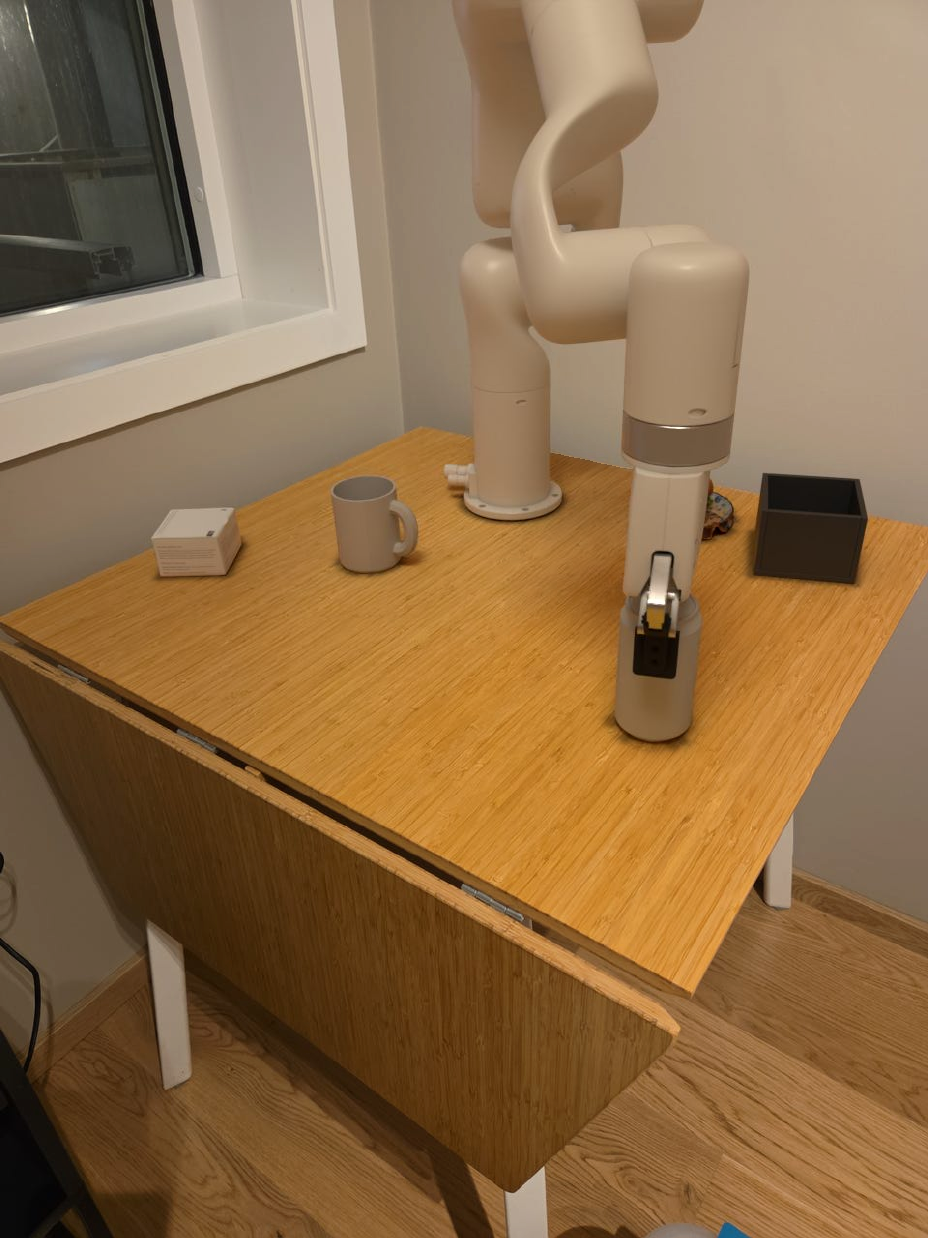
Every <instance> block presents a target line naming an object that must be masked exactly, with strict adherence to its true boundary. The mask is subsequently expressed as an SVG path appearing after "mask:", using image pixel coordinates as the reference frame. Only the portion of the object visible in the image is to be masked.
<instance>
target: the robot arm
mask: <svg viewBox="0 0 928 1238" xmlns="http://www.w3.org/2000/svg"><path fill="white" fill-rule="evenodd" d="M704 2H705V0H451V9H452V15H453V19H454V23H455V27H456V31H457V34H458V38H459V41H460V45H461V47H462V50H463V54H464V57H465V61H466V64H467V68H468V69H467V70H468V73H469V79H470V87H471V191H472V202H473V205H474V206H473V207H474V210H475V213H476V215H477V217H478V219H479V220H480V221H481V222H482V223H483V224H484V225H487V226H489V227H491V228H497V229H510V236H502V237H501V236H500V237H495V238H490V239H486V240H483V241H479V242H477V243H476V244H474V245H472V246H471V247H469V248H468V249H467V250H466V251H465V252H464V254H463V255H462V257H461V259H460V262H459V265H458V287H459V293H460V299H461V304H462V310H463V315H464V319H465V325H466V332H467V340H468V341H467V342H468V353H469V367H470V384H471V385H470V389H471V390H470V391H471V413H472V415H471V416H472V436H473V437H472V439H473V460H474V461H473V462H469V463H467V464H468V465H460V464H457V463H445V464H444V467H443V478H444V479H447V484H448V486H464V487H465V489H464V492H463V503H464V506H465V507H466V508H467V509H468V510H469V511H470V512H472V513H473V514H476V515H478V516H479V517H484V518H487V519H492V520H500V521H520V520H521V521H522V520H529V519H535V518H539V517H541V516H544V515H547V514H550V513H551V512H553V511H555V510H556V509H557V508H558V507H559V506H560V505H561V503H562V500H563V491H562V488H561V486H560V485H559V484H558V483H556V481H553V480H552V479H551V364H550V360H549V357H548V354H547V353H546V351H545V349H544V348H543V347H542V345H541V344H540V343H539V342H538V341H537V340H536V339H535V338H534V337H533V336H532V335H531V333H530V331H529V329H530V328H531V327H532V326H533V329H534V330H535V331H536V333H537V334H538V335H539V336H540V337H541V338H542V339H544V340H546V341H547V342H550V343H552V344H556V345H576V344H578V345H579V344H589V343H598V342H599V343H600V342H607V341H617V340H625V353H624V354H625V357H624V377H623V401H622V421H621V422H622V423H621V425H622V426H621V444H620V445H621V446H620V447H621V448H620V456H621V458H622V459H623V461H624V462H626V463H627V464H629V465H631V466H632V467H633V472H632V479H631V487H630V495H629V496H630V497H629V507H628V519H627V530H626V533H627V534H626V546H625V559H624V560H625V561H624V570H623V571H624V573H623V583H622V593H623V594H624V596H625V598H626V597H628V598H630V597H631V596H634V597H638V596H639V594H640V592H641V591H642V592H641V601H640V609H639V618H638V626H636V627H635V637H634V654H633V673H634V674H635V675H639V676H648V677H656V678H665V679H674V678H675V677H676V671H677V660H678V649H679V638H680V631H677V621H678V612H679V603H680V602H683V601H685V600H686V599H688V598H689V595H690V593H691V590H692V586H693V582H694V578H695V573H696V570H697V569H696V568H697V564H698V559H699V555H700V549H701V544H702V540H703V539H702V533H703V527H704V520H705V513H706V505H707V497H708V487H709V478H710V479H711V471H714V470H717V469H718V468H721V467H723V466H724V465H725V464H727V463H728V462H729V460H730V457H731V447H732V439H733V438H732V437H733V431H734V422H735V421H734V420H735V411H736V404H737V395H738V387H739V385H738V384H739V378H740V377H739V376H740V367H741V359H742V358H741V357H742V350H743V341H744V333H745V323H746V314H747V305H748V296H749V286H750V266H749V261H748V258H747V257H746V256H745V253H743V252H742V251H741V250H740V249H739V248H736V247H734V246H732V245H729V244H724V243H719V242H718V243H717V242H716V240H715V239H714V238H713V236H712V235H711V234H710V233H709V232H708V231H707V230H706V229H703V228H702V227H699V226H697V225H694V224H687V223H671V224H658V225H648V226H647V225H646V226H627V227H625V226H624V227H620V224H621V223H620V222H621V216H622V215H621V214H622V205H623V204H622V203H623V193H624V165H623V164H624V163H623V157H622V153H621V151H622V150H624V149H625V148H626V147H628V146H629V145H631V144H632V143H634V141H636V140H637V139H638V138H639V137H640V136H641V135H642V134H643V133H644V132H645V130H646V129H647V127H648V126H649V125H650V123H651V122H652V120H653V118H654V116H655V114H656V111H657V109H658V104H659V98H660V97H659V95H660V94H659V84H658V80H657V76H656V73H655V69H654V65H653V62H652V58H651V54H650V51H649V47H648V44H664V43H665V44H666V43H674V42H677V41H679V40H682V39H683V38H684V37H686V36H687V35H688V34H690V32H691V31H692V30H693V28H694V26H696V23H697V22H698V19H699V18H700V15H701V12H702V9H703V6H704ZM566 225H567V226H568V225H571V229H570V231H562V229H561V228H560V226H566ZM701 539H702V540H701ZM648 586H650V588H649V590H648ZM668 586H672V587H676V588H675V593H673V592H668ZM666 603H672V605H671V614H670V615H669V613H666Z"/></svg>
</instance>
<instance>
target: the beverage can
mask: <svg viewBox="0 0 928 1238" xmlns="http://www.w3.org/2000/svg"><path fill="white" fill-rule="evenodd" d="M649 588H650V586H648V590H649ZM675 588H676V587H672V586H668V592H673V593H675ZM641 592H642V591H641ZM641 592H640V594H639V596H638V597H634V596H631V597H630V598H628V597H626V596H625V601H624V606H623V607H622V608H621V609H620V611H619V624H618V627H619V628H618V642H617V643H618V645H617V662H616V681H615V698H614V699H615V700H614V718H615V721H616V722H617V724H618V725H619V726H620V727H621V729H623V730H624V731H625V732H627V733H628V734H630V735H631V736H632V737H634V738H636V739H639V740H642V741H646V742H653V743H654V742H655V743H657V742H665V741H668V740H670V739H674V738H676V737H679V736H682V734H684V733H685V732H686V731H687V730H688V729H689V728H690V726H691V724H692V720H693V712H694V711H693V710H694V700H695V693H696V683H697V682H696V681H697V674H698V665H699V655H700V648H701V647H700V646H701V640H702V639H701V637H702V629H703V615H702V613H701V611H700V603H699V601H698V599H697V598H696V596H695V595H693V594H692V593H691V592H690V595H689V598H688V599H686V600H685V601H683V602H680V603H679V612H678V621H677V631H680V638H679V649H678V660H677V671H676V677H675V678H674V679H665V678H656V677H648V676H639V675H635V674H634V673H633V654H634V637H635V627H636V626H638V618H639V609H640V601H641ZM671 605H672V603H666V613H669V615H670V614H671Z"/></svg>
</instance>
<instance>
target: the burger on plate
mask: <svg viewBox="0 0 928 1238" xmlns="http://www.w3.org/2000/svg"><path fill="white" fill-rule="evenodd" d="M734 513H735V507H734V505H733V503H732V502H731V500H730V499H729V498H728V497H725V496H723V495H722V494H721V493H718V492H715V491H714V483H713V481H712V479H711V477H710V478H709V487H708V497H707V505H706V513H705V520H704V527H703V533H702V539H701V541H702V540H710V539H712V538H713V533H714V531H715V530H716V528H718V529H719V530H720V531H721V532H722V533H725V532H728V529H731V527H732V524H733V523H734V519H735V515H734Z"/></svg>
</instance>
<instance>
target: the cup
mask: <svg viewBox="0 0 928 1238" xmlns="http://www.w3.org/2000/svg"><path fill="white" fill-rule="evenodd" d="M330 497H331V505H332V512H333V520H334V521H333V522H334V528H335V534H336V542H337V551H338V556H339V562H340V564H341V565H342V566H343V567H344V568H345V570H348V571H349V572H353V573H358V574H376V573H382V572H384V571H385V572H386V571H388V570H390V569H393V567H395V566H396V565H397V564H398V563H399V562H400V560H401V559H402V557H405V556H410V555H411V554H412V553H414V551H415V550H416V548H417V545H418V540H419V525H418V522H417V517H416V515H415V513H414V511H413V510H412V508H411V507H410V506H409V505H408V504H407V503H405V502H403V501H401V500H398V492H397V484H396V482H395V481H394V480H393V479H391V478H389V477H387V476H381V475H374V474H367V475H365V474H364V475H356V476H351V477H347V478H344V479H342V480H340V481H338V482H336V483H334V485H332V486H331V488H330ZM400 521H401V524H402V529H403V533H404V535H403V541H402V537H401V526H400Z"/></svg>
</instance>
